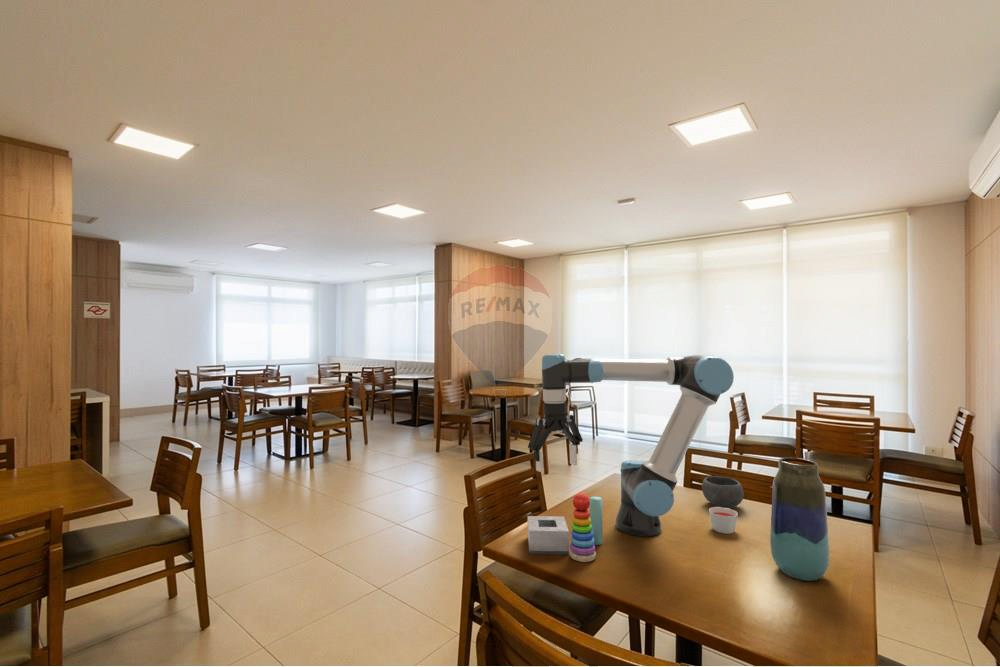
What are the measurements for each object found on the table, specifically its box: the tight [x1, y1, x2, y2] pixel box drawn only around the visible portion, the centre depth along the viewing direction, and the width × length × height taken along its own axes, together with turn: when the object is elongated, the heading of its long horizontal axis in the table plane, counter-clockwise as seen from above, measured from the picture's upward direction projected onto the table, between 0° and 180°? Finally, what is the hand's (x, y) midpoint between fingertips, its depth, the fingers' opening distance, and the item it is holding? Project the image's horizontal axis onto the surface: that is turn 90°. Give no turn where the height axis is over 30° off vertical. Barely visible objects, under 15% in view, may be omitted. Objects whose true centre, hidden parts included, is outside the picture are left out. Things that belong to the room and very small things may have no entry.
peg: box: [589, 496, 603, 546], centre depth 147 cm, size 4×4×14 cm
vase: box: [770, 457, 831, 582], centre depth 128 cm, size 14×14×31 cm
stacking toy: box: [569, 492, 597, 563], centre depth 137 cm, size 8×8×19 cm
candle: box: [708, 506, 739, 535], centre depth 158 cm, size 9×9×6 cm
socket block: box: [527, 515, 570, 556], centre depth 145 cm, size 12×12×7 cm
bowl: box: [701, 475, 745, 509], centre depth 181 cm, size 15×15×10 cm
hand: (556, 467), depth 148 cm, fingers open, 13 cm apart
